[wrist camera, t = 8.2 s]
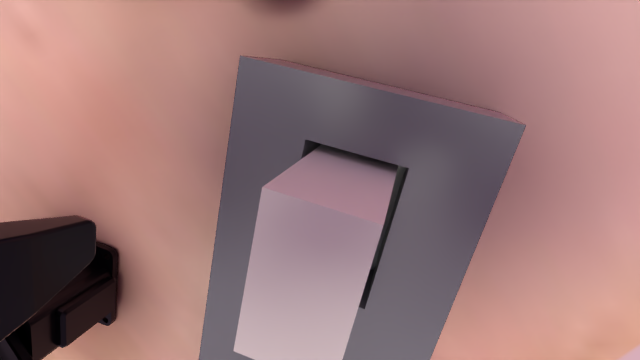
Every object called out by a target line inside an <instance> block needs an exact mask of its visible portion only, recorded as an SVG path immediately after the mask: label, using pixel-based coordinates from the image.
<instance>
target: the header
mask: <svg viewBox="0 0 640 360" xmlns="http://www.w3.org/2000/svg"><path fill="white" fill-rule="evenodd" d="M525 127H526V125H525V124H523V123H521V122H519V121H517V120H514V119H512V118H510V117H508V116H506V115H504V114H502V113H500V112H496V111H492V110H488V109H484V108H480V107H476V106H471V105H467V104H463V103H459V102H455V101H451V100H447V99H442V98H438V97H434V96H430V95H426V94H422V93H417V92H413V91H409V90H405V89H401V88H397V87H393V86H388V85H384V84H380V83H376V82H372V81H368V80H363V79H359V78H355V77H351V76H347V75H343V74H338V73H334V72H330V71H326V70H322V69H318V68H314V67H309V66H305V65H301V64H297V63H293V62H289V61H284V60H280V59H270V58H260V57H250V56H240V60H239V68H238V75H237V83H236V90H235V97H234V105H233V112H232V119H231V127H230V134H229V141H228V149H227V156H226V163H225V171H224V178H223V186H222V193H221V200H220V208H219V215H218V222H217V230H216V237H215V244H214V252H213V259H212V266H211V274H210V281H209V289H208V296H207V303H206V311H205V318H204V325H203V333H202V340H201V347H200V355H199V360H254V359H252V358H249V357H247V356H244V355H242V354H239V353H237V352H234V345H235V339H236V334H237V328H238V322H239V316H240V311H241V305H242V299H243V294H244V288H245V282H246V276H247V271H248V265H249V259H250V254H251V248H252V242H253V237H254V231H255V225H256V219H257V214H258V208H259V202H260V197H261V191H262V187H263V186H264V185H266V184H267V183H269V182H270V181H271V180H273V179H274V178H276V177H277V176H278V175H280V174H281V173H283V172H284V171H285V170H287V169H288V168H290V167H291V166H292V165H294V164H295V163H297V162H298V161H299V160H301V159H302V158H304V157H305V156H306V155H308V154H309V153H311V152H312V151H313V150H315V149H316V148H318V147H319V146H320V145H322V144H324V145H328V146H331V147H335V148H338V149H342V150H345V151H349V152H353V153H356V154H360V155H363V156H367V157H370V158H374V159H378V160H381V161H385V162H388V163H392V164H396V165H398V169H397V173H396V177H395V181H394V185H393V189H392V193H391V197H390V202H389V206H388V210H387V214H386V218H385V222H384V226H383V229H382V232H381V235H380V239H379V242H378V245H377V248H376V252H375V255H374V258H373V262H372V265H371V268H370V271H369V275H368V278H367V281H366V284H365V288H364V291H363V294H362V297H361V301H360V304H359V307H358V310H357V314H356V317H355V320H354V324H353V327H352V330H351V333H350V337H349V340H348V343H347V346H346V350H345V353H344V356H343V359H342V360H430V358H431V356H432V353H433V351H434V348H435V346H436V343H437V341H438V339H439V336H440V334H441V331H442V329H443V326H444V324H445V322H446V319H447V317H448V314H449V312H450V309H451V307H452V304H453V302H454V300H455V297H456V295H457V292H458V290H459V287H460V285H461V283H462V280H463V278H464V275H465V273H466V270H467V268H468V265H469V263H470V261H471V258H472V256H473V253H474V251H475V248H476V246H477V244H478V241H479V239H480V236H481V234H482V231H483V229H484V227H485V224H486V222H487V219H488V217H489V214H490V212H491V209H492V207H493V205H494V202H495V200H496V197H497V195H498V192H499V190H500V188H501V185H502V183H503V180H504V178H505V175H506V173H507V170H508V168H509V166H510V163H511V161H512V158H513V156H514V153H515V151H516V149H517V146H518V144H519V141H520V139H521V136H522V134H523V131H524V129H525Z"/></svg>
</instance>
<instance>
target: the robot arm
mask: <svg viewBox="0 0 640 360" xmlns="http://www.w3.org/2000/svg"><path fill="white" fill-rule="evenodd" d="M116 285H117V252H116V250H115V249H113V248H112V247H109V246H106V245H104V244H101V243H98V242H96V225H95V223H94V222H93V221H92V220H89V219H86V218H84V217H81V216H64V217H54V218H43V219H33V220H22V221H12V222H1V223H0V360H42V359H43V358H44V357H46V356H47V355H48V354H50V353H51V352H52V351H54V350H55V349H56V348H58V347H61V348H64V347H66V346H68V345H69V344H70V343H72V342H73V341H74V340H76V339H77V338H78V337H79V336H81V335H82V334H83V333H85V332H86V331H87V330H89V329H90V328H91V327H92V326H94V325H95V324H96V323H98V322H99V323H101V324H103V325H106V326H109V325H110V324H112V323H113V322H114V321H115V313H116Z"/></svg>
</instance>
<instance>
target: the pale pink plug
mask: <svg viewBox="0 0 640 360" xmlns="http://www.w3.org/2000/svg"><path fill="white" fill-rule="evenodd" d="M397 169H398V165H396V164H392V163H388V162H385V161H381V160H378V159H374V158H370V157H367V156H363V155H360V154H356V153H353V152H349V151H345V150H342V149H338V148H335V147H331V146H328V145H324V144H322V145H320V146H319V147H318V148H316V149H315V150H313V151H312V152H311V153H309V154H308V155H306V156H305V157H304V158H302V159H301V160H299V161H298V162H297V163H295V164H294V165H292V166H291V167H290V168H288V169H287V170H285V171H284V172H283V173H281V174H280V175H278V176H277V177H276V178H274V179H273V180H271V181H270V182H269V183H267V184H266V185H264V186H263V187H262V191H261V197H260V202H259V208H258V214H257V219H256V225H255V231H254V237H253V242H252V248H251V254H250V259H249V265H248V271H247V276H246V282H245V288H244V294H243V299H242V305H241V311H240V316H239V322H238V328H237V334H236V339H235V345H234V352H237V353H239V354H242V355H244V356H247V357H249V358H252V359H254V360H342V359H343V356H344V353H345V350H346V346H347V343H348V340H349V337H350V333H351V330H352V327H353V324H354V320H355V317H356V314H357V310H358V307H359V304H360V301H361V297H362V294H363V291H364V288H365V284H366V281H367V278H368V275H369V271H370V268H371V265H372V262H373V258H374V255H375V252H376V248H377V245H378V242H379V239H380V235H381V232H382V229H383V226H384V222H385V218H386V214H387V210H388V206H389V202H390V197H391V193H392V189H393V185H394V181H395V177H396V173H397Z"/></svg>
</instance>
